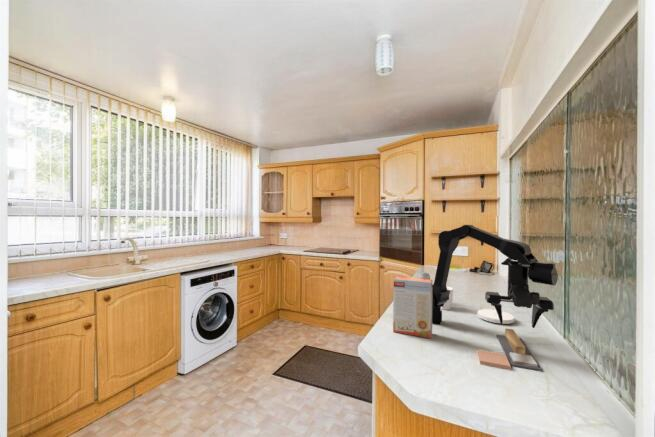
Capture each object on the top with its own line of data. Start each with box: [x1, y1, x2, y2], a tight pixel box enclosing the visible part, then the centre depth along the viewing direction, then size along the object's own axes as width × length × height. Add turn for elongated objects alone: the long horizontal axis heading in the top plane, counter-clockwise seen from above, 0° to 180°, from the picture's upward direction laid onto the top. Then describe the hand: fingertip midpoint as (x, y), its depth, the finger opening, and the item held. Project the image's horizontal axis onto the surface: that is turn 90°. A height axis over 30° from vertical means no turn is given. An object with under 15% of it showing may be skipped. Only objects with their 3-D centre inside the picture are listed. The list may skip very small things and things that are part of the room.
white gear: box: [477, 308, 515, 325], centre depth 127 cm, size 14×14×2 cm
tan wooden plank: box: [504, 328, 537, 367], centre depth 97 cm, size 6×22×3 cm, turn 159°
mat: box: [495, 333, 543, 372], centre depth 97 cm, size 8×24×1 cm, turn 159°
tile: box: [476, 349, 512, 371], centre depth 90 cm, size 8×2×8 cm
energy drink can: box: [418, 271, 431, 280], centre depth 153 cm, size 6×6×15 cm
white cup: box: [441, 285, 454, 311], centre depth 142 cm, size 8×8×10 cm
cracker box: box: [392, 276, 433, 339], centre depth 111 cm, size 14×6×21 cm, turn 65°
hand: (516, 325), depth 98 cm, fingers open, 9 cm apart
